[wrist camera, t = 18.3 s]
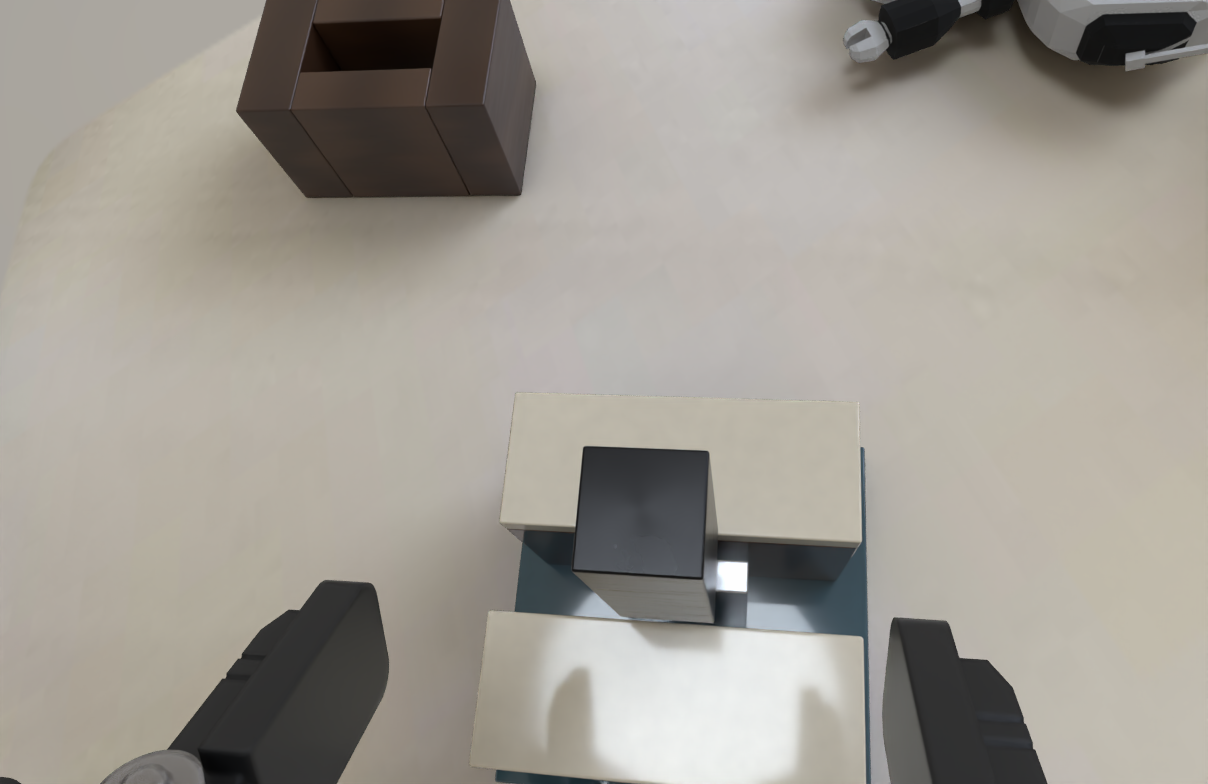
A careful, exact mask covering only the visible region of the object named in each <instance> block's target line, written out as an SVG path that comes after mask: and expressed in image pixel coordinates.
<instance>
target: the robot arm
mask: <svg viewBox="0 0 1208 784" xmlns="http://www.w3.org/2000/svg"><path fill="white" fill-rule="evenodd" d="M388 673H389V658H388V652H387V646H386V641H385V636H384V630H383V625H382V619H381V614H380V609H379V603H378V598H377V593H376V590H375V588H374V586H373V585H372V584H371V583H366V582H350V581H334V580H325V581H323V582H321V583H320V584H319V585H318V586H317V588H316V589H315V590H314V592H313V593H312V594H311V596H310V597H309V599H308V600H307V601H306V603H305V604H304V605H303V607H302V608H301V609H300V610H288V611H286V612H285V613H284V614H282V615H281V616H279V617H278V618H277V619H275V620H274V621H272V622H271V623H270V624H268V625H267V626H265V627H264V628H263V629H261V630H260V631H259V633H258V634H257V635H256V636H255V638H254V639H253V640H252V642H251V643H250V644H249V645H248V647H247V648H246V649H245V651H244V652H243V653H242V658H241V659H238V660H237V661H236V662H235V663H234V665H233V666H232V667H231V668H230V670H229V671H228V672H227V676H226V679H222V680H221V681H220V683H219V684H218V685H217V686H216V688H215V689H214V690H213V692H212V693H211V694H210V695H209V697H208V698H207V699H206V701H205V702H204V703H203V704H202V706H201V707H200V708H199V709H198V711H197V712H196V713H195V715H194V716H193V717H192V718H191V720H190V721H189V722H188V724H187V725H186V726H185V727H184V729H183V730H182V731H181V733H180V734H179V735H178V736H177V738H176V739H175V740H174V742H173V743H172V744H171V745H170V747H169V748H168V749H167V750H161V751H156V752H152V753H149V754H145V755H142V756H140V757H138V758H135V759H133V760H131V761H129V762H127V763H126V764H124V765H122V766H121V767H119V768H118V769H116V770H115V771H114V772H112V773H111V774H110V775H109V776H107V777H106V778H105V779H104V780H103V781H102V782H101V783H100V784H337V782H338V780H339V778H340V776H341V774H342V773H343V771H344V769H345V767H346V765H347V763H348V761H349V759H350V758H351V756H352V754H353V752H354V750H355V748H356V746H357V744H358V743H359V741H360V739H361V737H362V735H363V733H364V731H365V730H366V728H367V726H368V724H369V722H370V720H371V718H372V716H373V715H374V713H375V711H376V709H377V707H378V705H379V703H380V701H381V699H382V697H383V695H384V692H385V689H386V685H387V680H388ZM882 719H883V736H884V745H885V751H886V757H887V763H888V769H889V775H890V781H891V784H1047V781H1046V778H1045V776H1044V773H1043V770H1042V767H1041V765H1040V762H1039V759H1038V756H1037V753H1036V751H1035V750H1034V749H1033V742H1032V740H1031V737H1030V734H1029V731H1028V729H1027V726H1026V724H1024V718H1023V715H1022V712H1021V709H1020V706H1019V704H1018V701H1017V698H1016V695H1015V693H1014V690H1013V687H1012V686H1011V685H1010V684H1009V683H1008V682H1007V681H1006V680H1005V679H1004V678H1003V677H1002V675H1001V674H1000V673H999V672H998V671H997V670H996V669H995V668H994V667H993V666H992V665H991V663H990V662H989V661H988V660H979V659H965V658H959V656H958V652H957V649H956V646H955V642H954V639H953V636H952V632H951V629H950V626H949V624H948V622H947V621H941V620H926V619H910V618H893V620H892V623H891V629H890V638H889V647H888V656H887V666H886V675H885V684H884V693H883V709H882ZM0 784H21V783H19V782H18V781H17V780H14V779H11V778H6V777H0Z"/></svg>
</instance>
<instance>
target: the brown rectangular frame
mask: <svg viewBox="0 0 1208 784" xmlns="http://www.w3.org/2000/svg"><path fill="white" fill-rule="evenodd" d="M535 87H536V81H535V78H534V75H533V72H532V69H531V65H530V62H529V59H528V56H527V53H526V50H525V46H524V43H523V40H522V37H521V34H520V31H519V28H518V24H517V21H516V18H515V15H514V12H513V9H512V5H511V2H510V0H266V3H265V7H264V11H263V14H262V18H261V22H260V25H259V29H258V32H257V36H256V40H255V43H254V47H253V51H252V54H251V58H250V61H249V65H248V69H247V72H246V76H245V80H244V83H243V87H242V91H241V94H240V98H239V101H238V105H237V109H236V112H237V113H238V115H239V116H240V117H241V118H242V120H243V121H244V122H245V123H246V124H247V126H248V127H249V128H250V129H251V130H252V132H253V133H254V134H255V135H256V137H257V138H258V139H259V140H260V141H261V143H262V144H263V145H264V146H265V148H266V149H267V150H268V151H269V152H270V154H271V155H272V156H273V157H274V159H275V160H276V161H277V162H278V163H279V165H280V166H281V167H282V168H283V170H284V171H285V172H286V173H287V174H288V176H289V177H290V178H291V179H292V181H293V182H294V183H295V184H296V185H297V187H298V188H299V189H300V190H301V192H302V193H303V194H304V195H305V196H306V197H352V196H354V197H379V196H469V195H520V194H521V191H522V183H523V176H524V168H525V161H526V154H527V146H528V139H529V131H530V124H531V116H532V109H533V102H534V94H535Z"/></svg>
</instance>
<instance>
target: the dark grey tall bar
mask: <svg viewBox="0 0 1208 784" xmlns="http://www.w3.org/2000/svg"><path fill="white" fill-rule="evenodd" d="M717 548H718V524H717V515H716V507H715V498H714V489H713V480H712V472H711V463H710V454H709V451H706V450H680V449H655V448H629V447H604V446H584V447H583V452H582V463H581V473H580V483H579V494H578V504H577V514H576V525H575V535H574V545H573V556H572V566H571V570H572V572H573V573H574V574H575V575H576V576H578V577H579V578H580V579H581V580H582V581H583V582H584V583H585V584H586V585H587V586H588V587H589V588H590V589H592V590H593V591H594V592H595V593H596V594H597V595H598V596H599V597H600V598H601V599H602V600H603V601H604V602H606V603H607V604H608V605H609V606H610V607H611V608H612V609H613V610H614V611H615V612H616V613H617V614H619V615H620V616H621V617H628V618H630V619H644V620H658V621H672V622H686V623H700V624H714V625H728V626H742V627H745V626H746V618H747V599H748V570H749V563H748V562H745V561H728V560H717Z"/></svg>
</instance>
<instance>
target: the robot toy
mask: <svg viewBox="0 0 1208 784" xmlns="http://www.w3.org/2000/svg"><path fill="white" fill-rule="evenodd" d="M871 1H875V2H879V3H883V4H884V5H882V6H881V10H880V14H879V21H868V20H861V21H859V22H858V23H856V24H855V25H853V26H851V27H850V28H848V29H847V31H846V33H845V35H844V38H843V41H844V45H845V47H846V49H848V48H849V55H850V57H851V59H853V60H855V61H856V62H858V63H860V62H867V61H873V60H876V59H877V58H878V57H879V56H880V55H881V54H882V53H883V52H884V51H885V50H886V51H887V52H888V54H889V55H890V56H891V58H892V59H893V60H895V59H897V58H900V57H903V56H906V55H908V54H911V53H914V52H916V51H919V50H922V49H925V48H927V47H930V46H933V45H934V44H935V43H936V42H937V41H938V40H939V39H940V38H941V37H942V36H943V35H944V34H945V33H946V32H947V31H948V30H949V29H950V28H951V27H952V25H953V24H954V23H955V22H956V21H957V20H958V19H959V18H960V17H963V16H966V15H968V14H971V13H974V12H977V13H978V14H979V15H980V16H982V17H983V18H984V19H987V18H990V17H992V16H995V15H998V14H1000V13H1003V12H1006V11H1009V10H1010V8H1011V6H1012V4H1013V2H1014V0H871ZM1018 3H1019V6H1020V8H1021V11H1022V14H1023V16H1024V19H1025V21H1026V23H1027V24H1028V26H1029V28H1030V30H1031V31H1032V32H1033V33H1034V34H1035V35H1036V36H1037V37H1038V38H1039V39H1040V40H1041V41H1042V42H1043V43H1044V44H1045V45H1046V46H1047V47H1048V48H1050V49H1052V50H1054V51H1056V52H1058V53H1060V54H1061V55H1063V56H1065V57H1067V58H1069V59H1071V60H1080V61H1082V62H1084V63H1087V64H1089V65H1109V66H1119V65H1125V69H1126V71H1130V70H1136V69H1142V68H1145V65H1153V64H1162V63H1166V62H1169V61H1173V60H1177V59H1179V58H1182V57H1188V56H1194V55H1200V54H1205V53H1208V0H1018Z"/></svg>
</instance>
